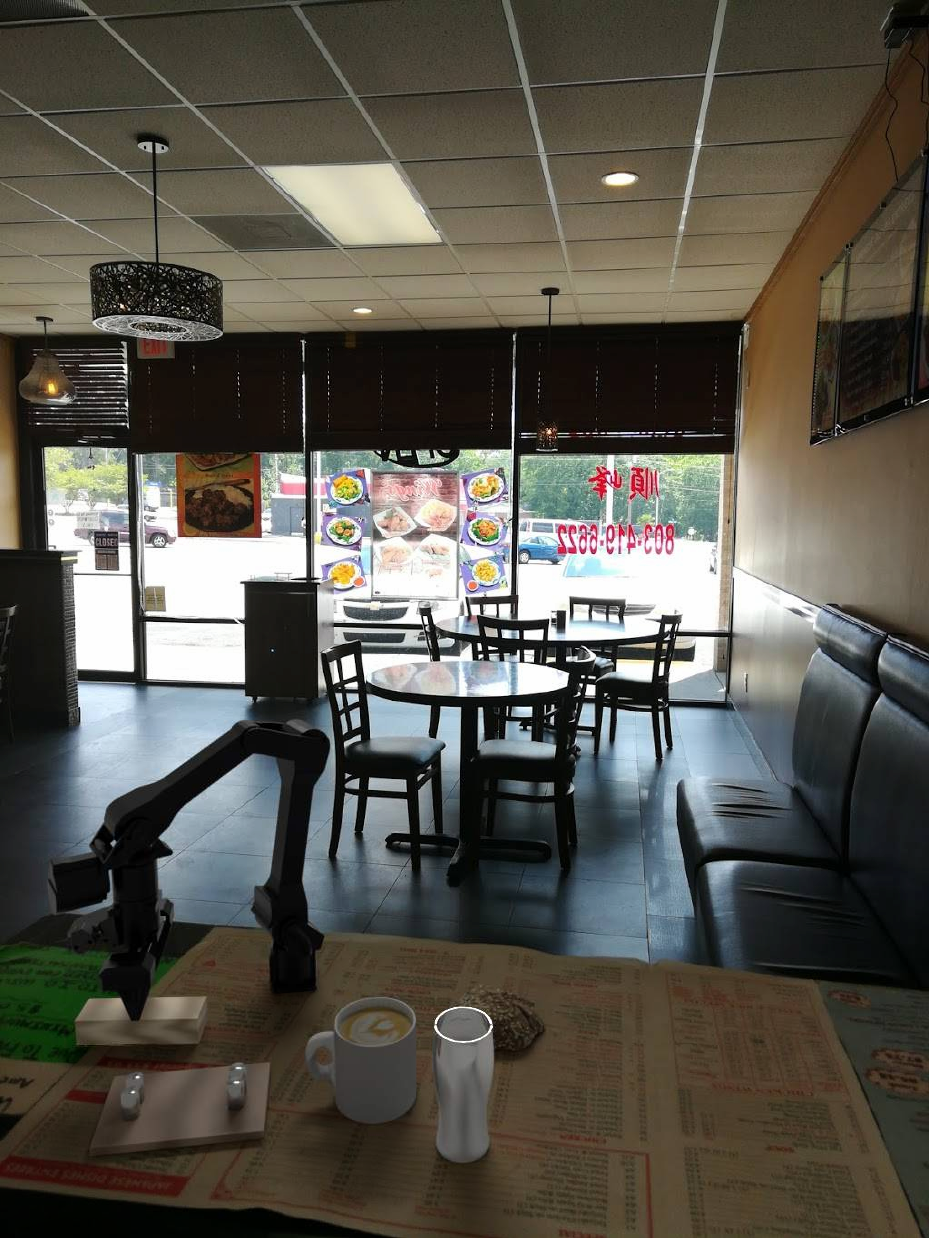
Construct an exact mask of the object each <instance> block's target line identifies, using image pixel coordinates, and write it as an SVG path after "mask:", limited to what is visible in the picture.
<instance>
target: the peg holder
mask: <svg viewBox="0 0 929 1238" xmlns="http://www.w3.org/2000/svg"><path fill="white" fill-rule="evenodd" d="M270 1077H271V1062H270V1061H269V1062H267V1061H266V1062H257V1063H249V1064H248V1063H247V1064H246V1063H243V1062H239V1061H238V1062H235V1063H232V1064H231V1065H226V1066H225V1065H224V1066H215V1067H214V1066H213V1067H202V1068H193V1069H183V1070H181V1069H180V1070H172V1071H171V1070H170V1071H169V1070H168V1071H160V1072H159V1071H158V1072H151V1073H150V1072H148V1073H143V1072H141V1071H134V1072H130V1073H129V1074H125V1075H117V1076H116V1075H115V1076H114V1077H113V1080H112V1083H111V1086H110V1088H109V1091H108V1094H107V1097H106V1100H105V1103H104V1105H103V1108H102V1111H101V1113H100V1117H99V1120H98V1123H97V1125H96V1128H95V1131H94V1134H93V1138H92V1140H91V1143H90V1144H89V1145H90V1146H89V1157H96V1156H107V1155H116V1154H117V1155H118V1154H127V1153H136V1152H146V1151H154V1150H164V1149H176V1148H183V1147H191V1146H192V1147H193V1146H202V1145H204V1146H205V1145H212V1144H222V1143H231V1142H241V1141H252V1140H260V1139H264V1138H265V1130H266V1129H265V1128H266V1120H267V1109H268V1099H269V1098H268V1097H269V1088H270Z"/></svg>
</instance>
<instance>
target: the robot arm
mask: <svg viewBox="0 0 929 1238" xmlns="http://www.w3.org/2000/svg"><path fill="white" fill-rule="evenodd" d="M330 752H331V740H330V738H329V737H328V736H327V734H326V733H325V732H324V731H322V730H321V729H319V728H317V727H315V726H313V725H312V724H310V723H308V722H307V721H304V720H302V719H298V718H295V719H290V720H288V721H286V722H285V723H283V722H275V721H252V720H249V719H243V720H238V721H237V722H235V723H233V725H232V726H231V727H230V729H228V730H227V731H226V732H224V733H223V734H222V735H220V736H219V737H217V738H216V739H214V741H212V742H211V743H210V744H208V745H207V746H205V747H204V748H202V749H201V750H200V751H198V752H197V753H196V754H194V755H193V756H191V757H190V758H189V759H187V760H186V761H185V762H183V763H182V764H181V765H179V766H178V767H176V768H175V769H174V770H172V771H171V772H169V773H167V775H165V776H164V777H162V778H161V779H158V780H156V781H154V782H152V783H148V784H145V785H140V786H138V787H136V788H133V789H132V790H130V791H128V792H126V793H124V794H122V795H121V796H119V797H117V798H115V799H114V800H112V801H111V802H110V803H109V804H108V805H107V807H106V809H105V813H104V817H103V823H102V824H101V825H100V827H99V828H98V830H97V831H96V833H95V835H94V836H93V837H92V839H91V841H90V842H89V845H88V847H89V849H90V850H91V852H90V851H89V852H86V853H81V854H77V855H72V856H71V855H70V856H65V857H62V856H61V857H57V858H53V859H50V860H49V869H48V873H47V874H48V875H47V877H48V878H47V879H46V888H47V893H48V894H47V895H48V901H49V905H50V909H51V911H52V912H51V913H52V914H53V916H56V915H61V914H64V913H68V912H72V911H76V910H81V909H83V908H86V907H90V906H94V905H99V904H102V903H103V902H104V901H105V900H108V894H110V892H111V889H112V902H111V903H112V904H111V905H109V906H105V907H101V908H99V909H96V910H94V911H91V912H89V913H86V914H83V915H81V916H80V917H78V918H76V919H75V920H73V923H72V924H71V926H70V928H69V930H68V931H67V933H66V935H67V937H66V940H67V943H68V944H67V949H68V950H69V951H73V953H75V954H76V955H78V956H82V955H85V954H86V953H87V952H88V951H91V950H93V949H96V948H98V947H99V946H102V945H105V944H106V943H108V948H109V949H110V948H111V949H112V948H118V947H120V946H122V947H123V948H125V949H128V950H127V952H118V953H117V952H116V953H111V954H110V955H109V956H108V957H107V958H106V959H105V960H104V961H103V964H102V966H101V967H100V971H99V973H98V975H97V978H98V990H99V991H101V992H116V993H117V994H118V996H119V998H121V1000H122V1002H123V1004H124V1006H125V1009H126V1011H127V1013H128V1015H129V1018H130V1020H131V1021H139V1020H140V1018H141V1015H142V1012H143V1009H144V1006H145V1003H146V1000H147V998H149V995H150V992H151V991H150V990H151V988H152V986H153V982H154V979H155V977H156V972H157V970H158V967H159V964H160V961H161V958H162V955H163V953H164V949H165V946H166V944H167V942H168V939H169V938H168V937H169V935H170V933H171V932H170V931H171V929H172V925H173V922H174V918H175V903H173V901H170V899H168V898H163V889H162V888H161V889H160V888H159V870H158V869H159V868H158V859H162V858H165V857H166V858H167V857H170V856H173V855H174V850H173V848H171V847H170V846H169V844H167V843H166V841H163V840H161V838H160V837H161V836H162V835H163V834H164V832H166V831H167V830H168V829H169V828H170V827H171V825H172V823H173V821H174V820H175V818H176V817H177V815H178V813H179V812H180V811H181V810H182V809H183V808H185V806H186V805H187V804H189V803H190V802H191V801H193V800H194V799H195V798H196V797H198V796H199V795H201V794H202V793H204V792H205V791H206V790H207V789H209V788H210V787H211V786H213V785H214V784H216V783H217V782H218V781H219V780H220V779H223V777H224V776H226V775H228V773H230V772H231V771H232V770H234V769H235V768H237V766H239V765H241V764H242V763H244V762H245V761H246V760H248V758H250V757H252V755H254V754H255V755H263V756H268V757H273V758H275V761H276V765H277V769H278V773H279V778H280V791H279V800H278V809H277V817H276V825H275V832H274V833H275V834H274V840H273V842H274V843H273V849H272V857H271V866H270V867H271V868H270V872H269V873H270V874H269V876H268V879H266V881H265V883H264V884H263V885H255V886H254V888H253V897H254V898H253V903H252V906H251V909H250V911H251V913H252V914H254V919H255V922H256V923H257V924H258V926H259V927H260V928H262V930H263V931H264V932H265V933H266V934H267V936H269V937H270V939H272V941H273V943H272V947H270V949H269V954H268V968H269V970H268V971H269V982H270V983H272V987H271V988H272V993H286V992H299V991H309V990H310V991H311V990H313V991H314V990H316V989H318V978H319V977H318V976H319V975H318V972H319V971H318V968H319V967H318V966H319V965H318V962H317V951H319V950H321V949H322V946H323V943H324V939H325V934H324V933H323V932H321V930H319V929H318V928H317V927H316V926H315V925H314V923H312V922H311V921H310V919H309V905H308V904H309V903H308V899H307V895H306V894H307V893H306V892H305V886H304V883H303V882H304V881H303V878H304V870H305V861H306V853H307V846H308V837H309V829H310V821H311V814H312V813H311V812H312V811H311V810H312V806H313V805H312V803H313V798H314V797H313V796H314V789H315V786H316V785H317V783H318V781H319V780H320V778H321V777H322V775H323V773H324V772H325V771H326V770H325V769H326V765H327V762H328V759H329V755H330ZM114 841H115V844H114V846H113V845H112V842H114ZM109 871H110V872H109ZM110 873H111V879H110ZM111 886H112V888H111ZM164 917H165V918H164Z"/></svg>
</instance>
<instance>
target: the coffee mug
mask: <svg viewBox="0 0 929 1238" xmlns="http://www.w3.org/2000/svg"><path fill="white" fill-rule="evenodd" d="M322 1048H326V1049H327V1050H329V1052H330V1053H331V1056H332V1057H331V1058H332V1061H331V1063H329V1064H328V1065H323V1064H320V1063H319V1062H318V1060H317V1058H316V1057H317V1052H318V1050H320V1049H322ZM304 1053H305V1055H304V1061H305V1067H306V1070H307V1071H308V1073H309V1074H310V1076H311V1077H313V1078H314V1079H316V1080H319V1081H322V1082H325V1083H327V1084H329V1085H331V1086H332V1087H333V1090H334V1099H335V1105H336V1107H337V1109H338V1110H339V1112H340V1113H341V1114H342V1115H343V1116H345V1117H346V1118H348V1119H349V1120H352V1121H354V1122H357V1123H361V1124H366V1125H368V1124H370V1125H374V1124H376V1125H377V1124H384V1123H388V1122H391V1121H394V1120H396V1119H398V1118H400V1117H402V1116H403V1115H405V1114H406V1113H407V1112H408V1111H409V1110H410V1109H411V1108H412V1107H413V1105H414V1103H415V1102H416V1099H417V1018H416V1014H415V1012H414V1010H413V1009H412V1008H411V1007H410V1006H409V1005H408V1004H406V1002H403V1001H401V1000H399V999H396V998H391V997H387V996H372V997H365V998H362V999H361V998H360V999H358V1000H355V1001H353V1002H351V1003H348V1004H347V1005H345V1006H344V1007H343V1008H341V1009H340V1010H339V1011H338V1012H337V1014H336V1016H335V1018H334V1021H333V1031H322V1032H321V1031H320V1032H318V1033H315V1034H314V1035H312V1036H311V1037H310V1038H309V1040H308V1042H307V1044H306V1047H305V1052H304Z"/></svg>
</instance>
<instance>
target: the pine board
mask: <svg viewBox="0 0 929 1238" xmlns="http://www.w3.org/2000/svg"><path fill="white" fill-rule="evenodd" d="M207 998H208V997H207V996H170V997H169V996H168V997H167V996H166V997H165V996H163V997H162V996H161V997H160V996H159V997H157V996H156V997H147V1000H146V1003H145V1006H144V1009H143V1012H142V1015H141V1018H140V1020H139V1021H131V1020H130V1018H129V1015H128V1013H127V1011H126V1009H125V1006H124V1004H123V1002H122V1000H121V998H120V997H114V998H113V997H110V998H108V997H107V998H103V997H102V998H99V997H98V998H89V999H88V1000H87V1001H86V1003H85V1004H84V1006H83V1007H82V1009H81V1011H80V1012H79V1014H78V1016H77V1017H76V1018H75V1020H74V1027H75V1041H76V1046H77V1045H85V1046H84V1047H88V1046H87V1045H92V1044H93V1045H95V1044H108V1043H109V1044H110V1043H112V1044H142V1045H141V1046H143V1044H145V1045H144V1046H147V1045H146V1044H158V1045H192V1044H193V1045H196V1044H197V1045H198V1044H199V1043H200V1041H201V1039H202V1036H203V1033H204V1031H205V1029H206V1026H207V1024H206V1023H208V1021H207V1020H208V1019H209V1018H208V999H207ZM205 1025H206V1026H205ZM204 1028H205V1029H204ZM203 1030H204V1031H203ZM169 1043H170V1044H169Z"/></svg>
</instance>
